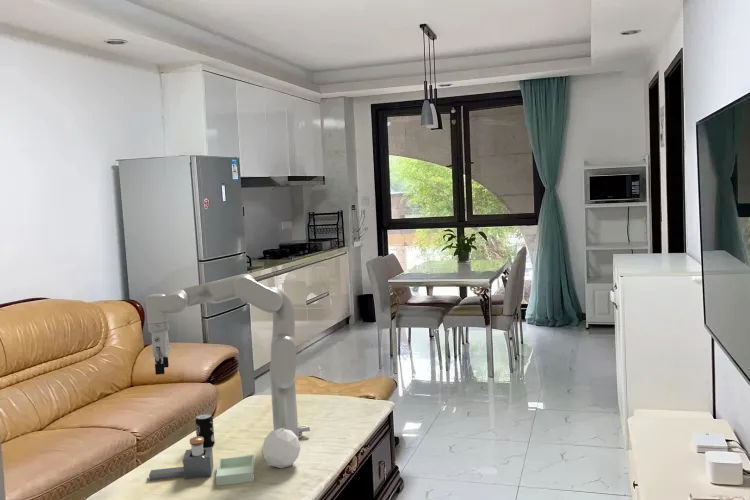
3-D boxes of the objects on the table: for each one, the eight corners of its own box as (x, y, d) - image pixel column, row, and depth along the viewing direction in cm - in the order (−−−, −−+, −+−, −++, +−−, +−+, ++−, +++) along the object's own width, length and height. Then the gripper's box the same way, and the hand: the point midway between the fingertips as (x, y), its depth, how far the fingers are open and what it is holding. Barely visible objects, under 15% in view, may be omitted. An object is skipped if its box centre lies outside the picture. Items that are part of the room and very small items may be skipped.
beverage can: (210, 449, 253) (207, 419, 251) (194, 449, 254) (191, 418, 253) (217, 442, 259) (215, 413, 258) (202, 442, 260) (199, 412, 259)
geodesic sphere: (267, 439, 244) (261, 418, 235) (304, 438, 244) (299, 417, 235) (263, 475, 234) (256, 455, 224) (301, 474, 233) (296, 453, 224)
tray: (219, 467, 235) (219, 458, 235) (254, 463, 237) (254, 454, 237) (216, 485, 220) (215, 476, 220) (253, 481, 222) (252, 472, 222)
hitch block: (213, 465, 237) (212, 447, 236) (211, 476, 228) (209, 456, 227) (152, 472, 234) (151, 453, 233) (148, 483, 225) (146, 463, 224)
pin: (206, 469, 235) (204, 435, 233) (205, 474, 230) (203, 440, 229) (193, 470, 234) (190, 437, 233) (191, 476, 229) (188, 442, 228)
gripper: (165, 330, 242) (169, 376, 244) (172, 321, 259) (175, 364, 261) (144, 332, 241) (147, 377, 242) (152, 323, 258) (156, 365, 259)
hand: (162, 370), depth 251 cm, fingers open, 9 cm apart
